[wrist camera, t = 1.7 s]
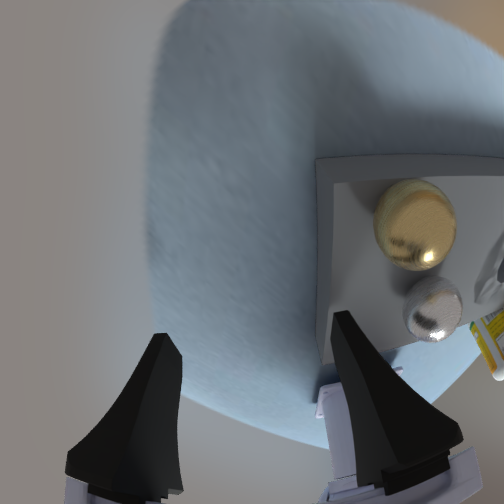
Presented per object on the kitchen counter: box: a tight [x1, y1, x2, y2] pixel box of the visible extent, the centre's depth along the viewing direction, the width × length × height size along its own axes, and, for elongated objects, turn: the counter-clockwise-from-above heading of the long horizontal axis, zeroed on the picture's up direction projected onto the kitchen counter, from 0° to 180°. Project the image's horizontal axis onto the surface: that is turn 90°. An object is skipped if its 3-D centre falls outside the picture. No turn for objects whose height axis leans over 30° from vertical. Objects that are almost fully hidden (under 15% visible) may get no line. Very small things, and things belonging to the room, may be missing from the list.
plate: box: [315, 154, 504, 365], centre depth 13 cm, size 12×20×2 cm, turn 98°
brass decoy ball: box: [373, 179, 457, 271], centre depth 8 cm, size 3×3×3 cm
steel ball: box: [402, 276, 463, 343], centre depth 11 cm, size 3×3×3 cm
